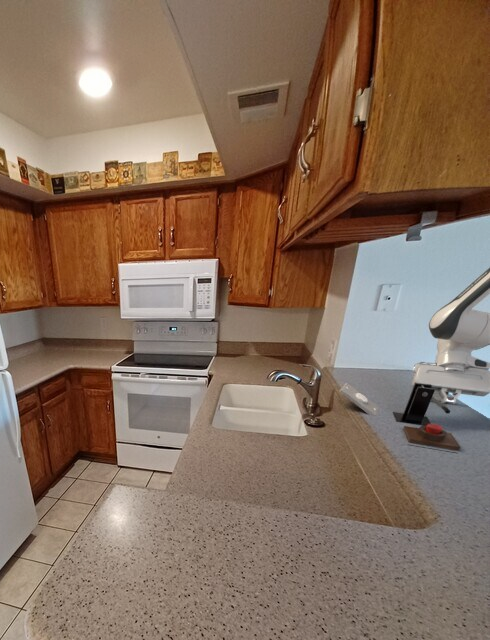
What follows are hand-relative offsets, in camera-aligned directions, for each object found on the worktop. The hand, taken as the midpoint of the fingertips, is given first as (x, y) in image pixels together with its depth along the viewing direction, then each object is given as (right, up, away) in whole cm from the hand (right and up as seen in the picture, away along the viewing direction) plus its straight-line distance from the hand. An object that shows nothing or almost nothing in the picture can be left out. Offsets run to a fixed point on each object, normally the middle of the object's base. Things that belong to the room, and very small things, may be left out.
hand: (448, 403), depth 104 cm
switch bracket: (-7, -6, +6) cm, 11 cm away
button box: (-11, -12, -5) cm, 17 cm away
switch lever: (-5, +1, +2) cm, 5 cm away
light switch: (-20, -1, +15) cm, 26 cm away
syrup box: (+13, +3, +22) cm, 25 cm away
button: (-11, -9, -7) cm, 16 cm away
